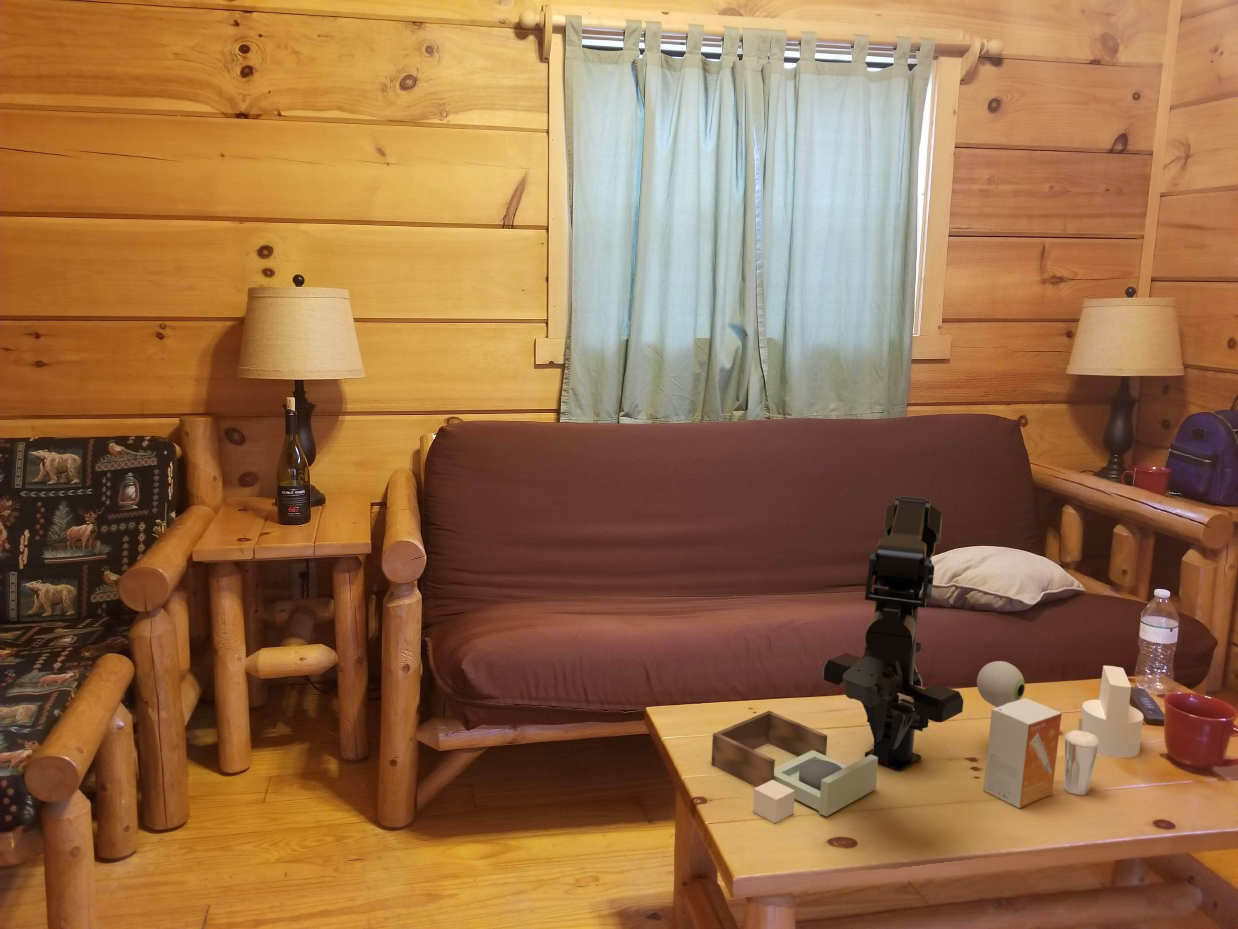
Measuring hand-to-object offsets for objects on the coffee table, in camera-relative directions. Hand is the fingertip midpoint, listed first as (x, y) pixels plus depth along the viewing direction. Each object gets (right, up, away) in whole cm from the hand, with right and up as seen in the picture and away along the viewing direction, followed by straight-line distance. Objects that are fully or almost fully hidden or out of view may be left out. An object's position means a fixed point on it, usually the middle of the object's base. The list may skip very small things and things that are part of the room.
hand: (885, 744), depth 137 cm
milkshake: (+31, -10, +12) cm, 35 cm away
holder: (-14, -8, +17) cm, 23 cm away
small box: (+22, -10, +10) cm, 26 cm away
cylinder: (-7, -8, +9) cm, 14 cm away
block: (-15, -10, +3) cm, 18 cm away
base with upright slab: (+44, -8, +26) cm, 51 cm away
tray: (-8, -9, +10) cm, 16 cm away
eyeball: (+24, -8, +23) cm, 34 cm away
